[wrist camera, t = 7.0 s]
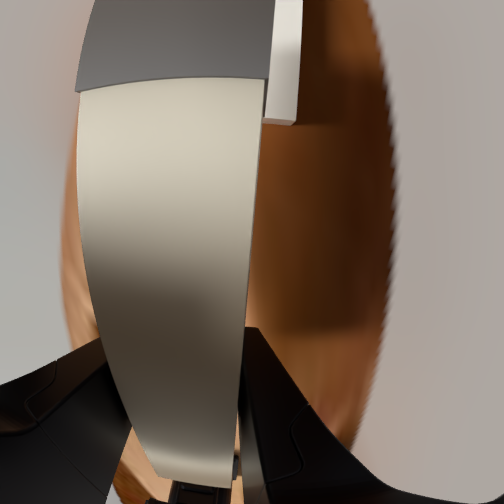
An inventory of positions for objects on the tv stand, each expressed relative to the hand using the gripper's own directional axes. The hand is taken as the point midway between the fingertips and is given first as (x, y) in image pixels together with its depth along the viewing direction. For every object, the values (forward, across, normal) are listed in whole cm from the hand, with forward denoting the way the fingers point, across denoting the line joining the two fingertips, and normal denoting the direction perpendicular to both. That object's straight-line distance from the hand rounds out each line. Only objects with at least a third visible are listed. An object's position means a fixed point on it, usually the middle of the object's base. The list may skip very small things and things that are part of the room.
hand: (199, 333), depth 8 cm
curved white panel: (+1, 0, -2) cm, 2 cm away
